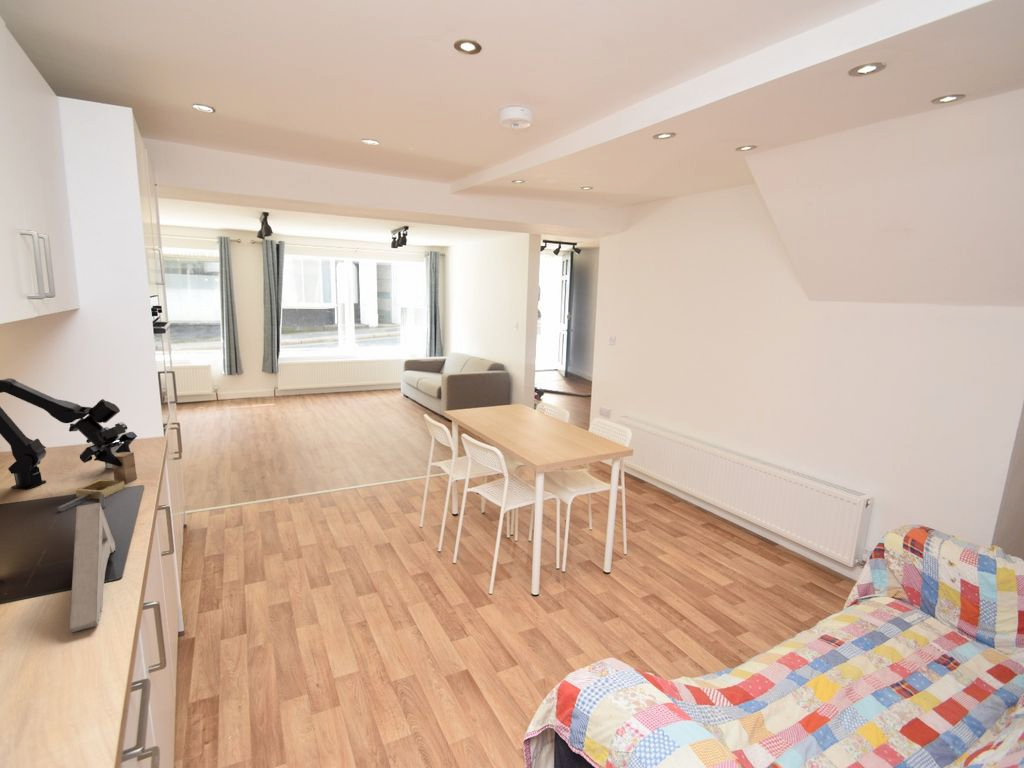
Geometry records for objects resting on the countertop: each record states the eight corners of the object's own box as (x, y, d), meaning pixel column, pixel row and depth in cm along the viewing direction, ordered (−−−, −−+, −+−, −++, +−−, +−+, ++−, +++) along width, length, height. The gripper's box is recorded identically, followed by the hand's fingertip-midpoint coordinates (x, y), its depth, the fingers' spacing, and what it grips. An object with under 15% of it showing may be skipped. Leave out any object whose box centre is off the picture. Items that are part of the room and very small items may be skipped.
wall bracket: (91, 662, 118) (94, 548, 134) (114, 655, 121) (115, 544, 137) (69, 629, 104) (76, 506, 120) (96, 622, 106) (99, 502, 122)
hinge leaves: (46, 510, 156) (45, 503, 155) (101, 485, 174) (100, 479, 174) (91, 514, 155) (90, 506, 154) (141, 488, 173) (140, 482, 173)
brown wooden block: (114, 482, 177) (111, 455, 175) (125, 477, 182) (121, 451, 180) (126, 483, 177) (122, 456, 175) (136, 478, 181) (133, 452, 179)
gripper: (82, 425, 165) (117, 458, 167) (129, 410, 184) (160, 440, 185) (64, 446, 168) (99, 478, 169) (112, 429, 186) (143, 459, 187)
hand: (127, 463), depth 178 cm, fingers closed on brown wooden block, 4 cm apart
